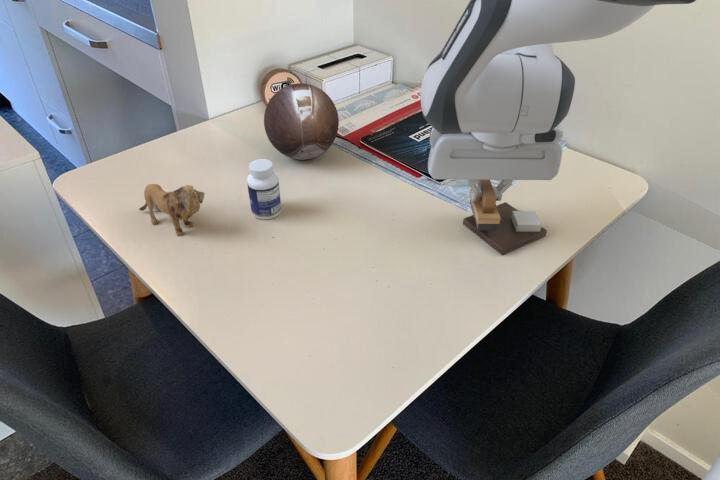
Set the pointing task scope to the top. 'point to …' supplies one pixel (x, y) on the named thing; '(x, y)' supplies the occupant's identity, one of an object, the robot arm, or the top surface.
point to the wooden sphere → (301, 121)
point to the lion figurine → (173, 204)
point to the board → (504, 232)
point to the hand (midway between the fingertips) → (485, 198)
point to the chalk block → (526, 221)
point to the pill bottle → (263, 189)
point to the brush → (485, 207)
